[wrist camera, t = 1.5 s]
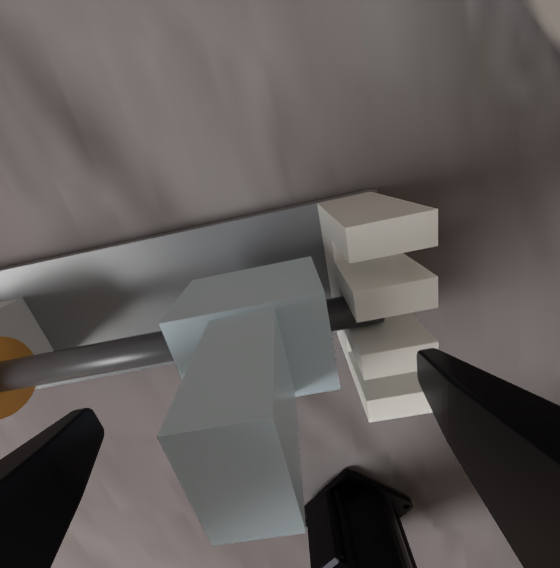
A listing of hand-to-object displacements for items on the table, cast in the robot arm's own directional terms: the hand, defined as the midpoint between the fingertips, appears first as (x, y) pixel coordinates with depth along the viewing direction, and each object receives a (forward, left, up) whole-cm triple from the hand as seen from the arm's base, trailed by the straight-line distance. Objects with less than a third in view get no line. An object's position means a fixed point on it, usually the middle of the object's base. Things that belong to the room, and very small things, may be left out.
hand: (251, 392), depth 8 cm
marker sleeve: (0, 0, -5) cm, 5 cm away
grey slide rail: (+3, +3, -8) cm, 9 cm away
